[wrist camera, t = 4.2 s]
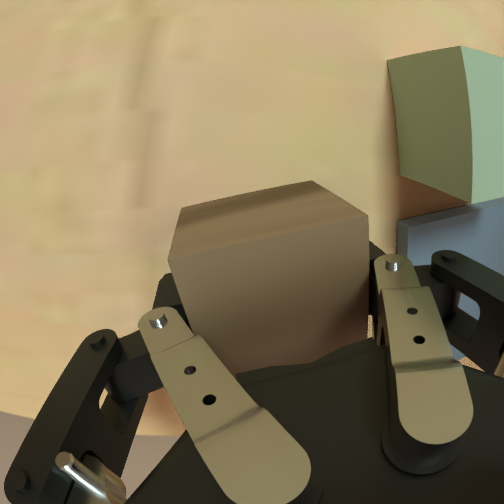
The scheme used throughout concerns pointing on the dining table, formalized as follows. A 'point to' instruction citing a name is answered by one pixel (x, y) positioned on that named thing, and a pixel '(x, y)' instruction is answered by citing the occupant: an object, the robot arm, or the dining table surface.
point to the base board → (457, 240)
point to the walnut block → (273, 275)
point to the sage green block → (451, 121)
